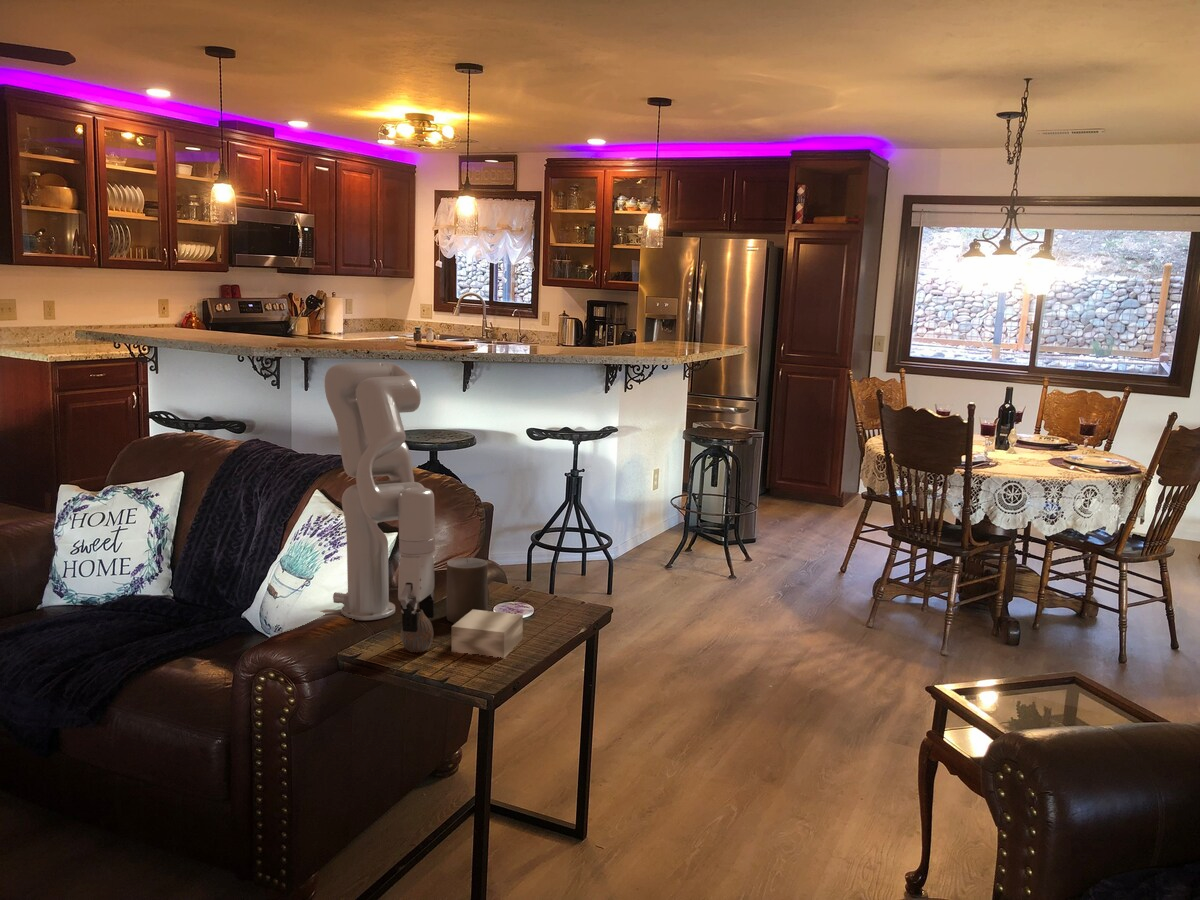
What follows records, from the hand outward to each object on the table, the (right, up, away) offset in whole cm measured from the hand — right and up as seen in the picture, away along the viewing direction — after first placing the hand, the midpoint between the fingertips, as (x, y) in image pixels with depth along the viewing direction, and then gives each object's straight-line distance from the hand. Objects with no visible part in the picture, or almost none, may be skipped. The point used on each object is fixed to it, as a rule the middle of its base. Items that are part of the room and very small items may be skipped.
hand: (418, 624), depth 205 cm
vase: (-1, -6, +2) cm, 6 cm away
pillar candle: (+7, -3, +22) cm, 24 cm away
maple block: (+14, -6, +5) cm, 16 cm away
